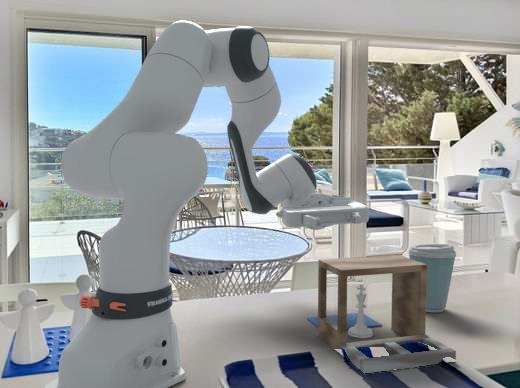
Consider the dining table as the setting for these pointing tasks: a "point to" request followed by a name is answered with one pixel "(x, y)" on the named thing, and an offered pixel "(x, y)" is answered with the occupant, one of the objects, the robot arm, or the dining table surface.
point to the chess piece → (360, 318)
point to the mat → (348, 320)
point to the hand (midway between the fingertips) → (338, 221)
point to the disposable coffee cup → (435, 272)
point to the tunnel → (403, 312)
